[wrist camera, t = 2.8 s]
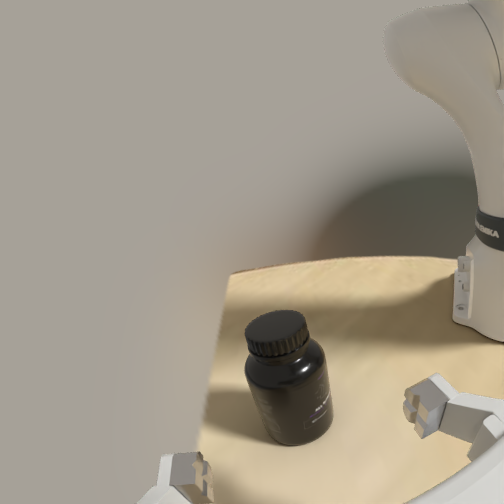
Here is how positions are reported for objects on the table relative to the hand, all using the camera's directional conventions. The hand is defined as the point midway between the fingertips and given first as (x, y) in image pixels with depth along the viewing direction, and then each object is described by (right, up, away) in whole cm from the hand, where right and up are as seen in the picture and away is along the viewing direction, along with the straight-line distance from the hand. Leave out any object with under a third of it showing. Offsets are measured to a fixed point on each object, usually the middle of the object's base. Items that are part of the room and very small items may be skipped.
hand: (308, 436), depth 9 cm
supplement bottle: (+3, -10, +16) cm, 19 cm away
